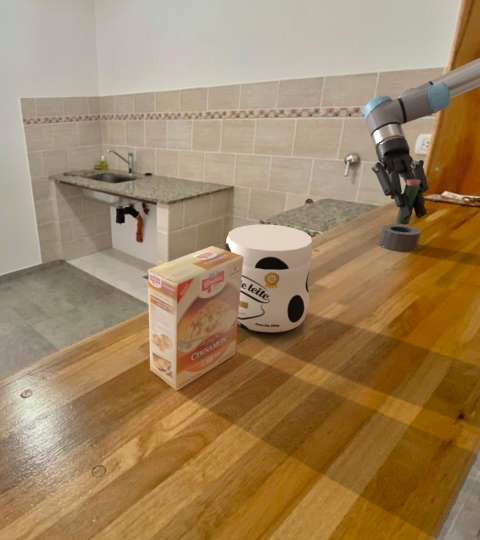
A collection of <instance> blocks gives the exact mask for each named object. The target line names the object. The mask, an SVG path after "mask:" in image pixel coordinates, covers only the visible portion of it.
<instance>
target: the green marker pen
mask: <svg viewBox="0 0 480 540" xmlns="http://www.w3.org/2000/svg"><path fill="white" fill-rule="evenodd" d="M419 184H420V180H417V179H407V181H406V183H405V184H404V189H403V193H406V196H407V199H408V202H409V205H410V208H411V211H412V212H413V210H414V208H413V207H414V203H415V199H416V196H417V192H418V188H419ZM411 218H412V215H411V216H409V217H408V218H407V219H403V217H402V214H401V211H400V208H399V209H398V213H397V217H396V220H395V223H396V224H397V225H409V224H410V221H411Z"/></svg>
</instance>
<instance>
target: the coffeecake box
mask: <svg viewBox="0 0 480 540" xmlns="http://www.w3.org/2000/svg"><path fill="white" fill-rule="evenodd" d="M243 258H244V257H243V256H241V255H238V254H236V253H233V252H230V251H226V250H225V249H223V248H220V247H217V246H214V245H211V246H209V247H206V248H203V249H200V250H197V251H195V252H192V253H189V254H187V255H183V256H181V257H178V258H176V259H172V260H170V261H167V262H165V263H161V264H159V265H156V266H154V267H151V268H149V269H147V281H148V282H147V286H148V287H147V288H148V289H147V290H148V292H147V293H148V322H149V323H148V327H149V328H148V330H149V334H148V335H149V370H150V372H152V373H154V374H155V375H156V376H158V378H160V379H161V380H163V381H164V382H165V383H166V384H167V385H168V386H170V387H171V388H172V389H173V390H175V391H177V392H178V391H179V390H181V389H182V388H184V387H187V385H189V384H190V383H192V382H194V381H195V380H197V379H198V378H200V377H201V376H203V375H205V374H206V373H208V372H209V371H211V370H213V369H214V368H216V367H218V366H219V365H220V364H222V363H223V362H225V361H227V360H229V359H230V358H232V357H233V356H235V355H236V347H237V336H238V326H237V324H238V313H239V301H240V290H241V278H242V267H243Z"/></svg>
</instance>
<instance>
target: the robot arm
mask: <svg viewBox="0 0 480 540" xmlns="http://www.w3.org/2000/svg"><path fill="white" fill-rule="evenodd" d="M479 87H480V57H479V58H477V59H474V60H472V61H470V62H467V63H465V64H464V65H461V66H459V67H457V68H454V69H453V70H450V71H448V72H446V73H444V74H441V75H440V76H437V77H435V78H433V79H430V80H429V81H426V82H425V83H423V84H420V85H418V86H416V87H412V88H409V89H406V90H405V91H404V92H402V93H401V94H400V95H399V97H398V98H395V99H392V97H391V96H389V95H383V96H382V95H381V96H377V97H374V98H373V99H371V100H370V101H369V102H367V103H366V105H365V106H364V109H363V115H364V119H365V123H366V126H367V128H368V132H369V134H370V138H371V140H372V144H373V147H374V150H375V154H376V156H377V159H378V161H377V162H375V164H374V165H373V166H372V167H371V171H372V172H373V173H374V174H375V175H376V178H377V180H378V182H379V184H380V187H381V190H382V192H383V195H384V196H386V197H389V196H390V197H389V198H390V199H391V200H394V202H395V205H396V207H397V208H399V209H400V211H401V214H402V217H403V219H407V218H408V217H409V216H411V217H412V215H413V211H411V208H410V205H409V202H408V199H407V196H406V193H404V192H403V191H402V184H401V183H402V182H401V178H402V179H403V181H404V183H405V184H406V181H407V179H417V180H420V184H419V188H418V192H417V196H416V199H415V203H414V207H413V210H414V213H415V217H416V219H421V218H422V217H424V216H425V215H427V214H428V212H427V210H426V207H425V204H426V201H425V198H424V195H423V194H424V193H426V192H427V191H429V184H428V180H427V176H426V172H425V170H424V165H425V161H424V160H423V159H420V160H414V157H412V156H411V155H410V150H411V149H410V146H409V144H408V140H407V138H406V135H405V131H404V129H403V127H402V125H405V124H407V123H409V122H412V121H416V120H418V119H422V118H425V117H427V116H430V115H435V114H437V113H439V112H441V111H443V110H446V109H447V108H449V107H450V105H451V99H453V98H455V97H458V96H461V95H463V94H465V93H467V92H470V91H472V90H475V89H476V88H479Z"/></svg>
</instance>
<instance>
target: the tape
mask: <svg viewBox="0 0 480 540" xmlns="http://www.w3.org/2000/svg"><path fill="white" fill-rule="evenodd" d="M421 235H422V230H421V229H419V228H417V227H415V226H411V225H407V224H386V225H383V226H381V230H380V235H379V239H378V246H380V247H381V248H383V249H386V250H390V251H396V252H413V251H415V250H417V248H418V245H419V241H420V237H421Z"/></svg>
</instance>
